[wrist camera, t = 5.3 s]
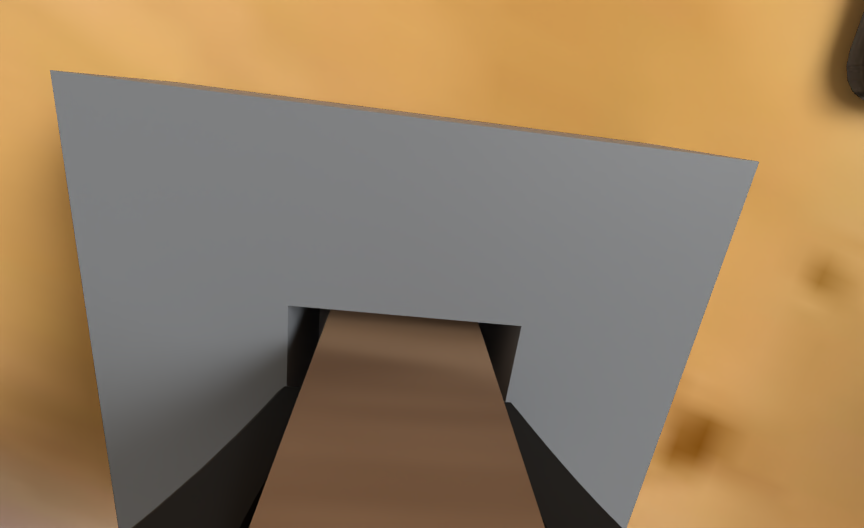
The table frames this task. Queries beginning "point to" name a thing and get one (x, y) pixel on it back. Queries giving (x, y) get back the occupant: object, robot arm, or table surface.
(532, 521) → the peg
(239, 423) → the socket block
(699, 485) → the table surface
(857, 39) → the phone
